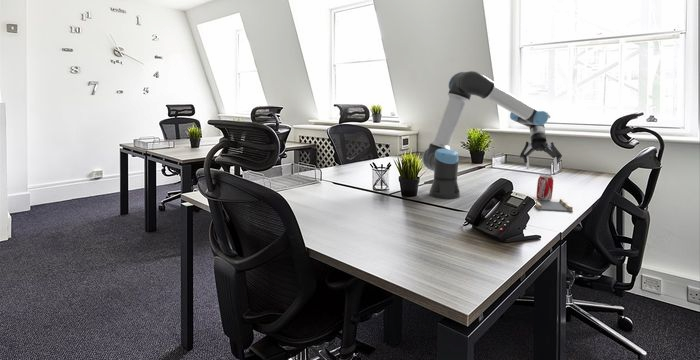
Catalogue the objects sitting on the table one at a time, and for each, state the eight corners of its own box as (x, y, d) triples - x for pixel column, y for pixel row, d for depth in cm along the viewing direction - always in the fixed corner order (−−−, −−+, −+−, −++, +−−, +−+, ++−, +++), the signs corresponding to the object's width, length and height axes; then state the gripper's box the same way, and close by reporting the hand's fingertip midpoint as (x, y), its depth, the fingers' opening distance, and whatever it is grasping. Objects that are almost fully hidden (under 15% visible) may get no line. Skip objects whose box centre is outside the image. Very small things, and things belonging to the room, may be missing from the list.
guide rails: (531, 200, 204) (531, 197, 204) (562, 202, 201) (562, 198, 201) (538, 208, 189) (539, 205, 189) (572, 210, 186) (572, 207, 186)
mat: (530, 201, 204) (530, 200, 204) (562, 203, 202) (562, 202, 201) (538, 210, 189) (538, 208, 189) (572, 212, 186) (572, 210, 186)
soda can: (553, 201, 204) (555, 177, 202) (537, 201, 206) (540, 177, 203) (549, 198, 211) (551, 175, 209) (534, 197, 213) (536, 174, 210)
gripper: (560, 141, 228) (566, 173, 216) (512, 140, 232) (515, 171, 221) (564, 132, 221) (570, 164, 210) (515, 131, 226) (517, 162, 215)
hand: (542, 168), depth 215 cm, fingers open, 13 cm apart
